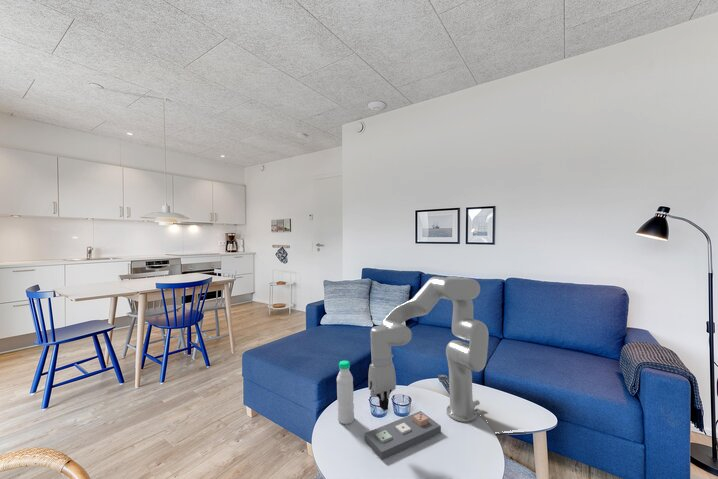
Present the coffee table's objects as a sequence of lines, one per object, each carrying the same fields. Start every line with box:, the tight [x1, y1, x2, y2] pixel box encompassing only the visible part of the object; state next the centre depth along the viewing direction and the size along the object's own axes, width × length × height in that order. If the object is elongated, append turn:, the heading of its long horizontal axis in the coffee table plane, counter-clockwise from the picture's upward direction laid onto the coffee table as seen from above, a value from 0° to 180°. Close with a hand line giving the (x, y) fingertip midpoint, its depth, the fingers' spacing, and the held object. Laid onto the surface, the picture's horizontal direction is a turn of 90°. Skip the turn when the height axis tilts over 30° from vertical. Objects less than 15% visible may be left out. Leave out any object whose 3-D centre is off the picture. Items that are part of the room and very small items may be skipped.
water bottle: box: [336, 360, 355, 425], centre depth 130 cm, size 7×7×25 cm
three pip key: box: [413, 413, 430, 427], centre depth 122 cm, size 4×4×4 cm
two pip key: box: [376, 430, 392, 444], centre depth 113 cm, size 4×4×4 cm
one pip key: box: [395, 423, 411, 435], centre depth 117 cm, size 4×4×4 cm
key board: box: [364, 410, 442, 461], centre depth 117 cm, size 28×12×3 cm, turn 119°
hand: (384, 408), depth 113 cm, fingers closed
